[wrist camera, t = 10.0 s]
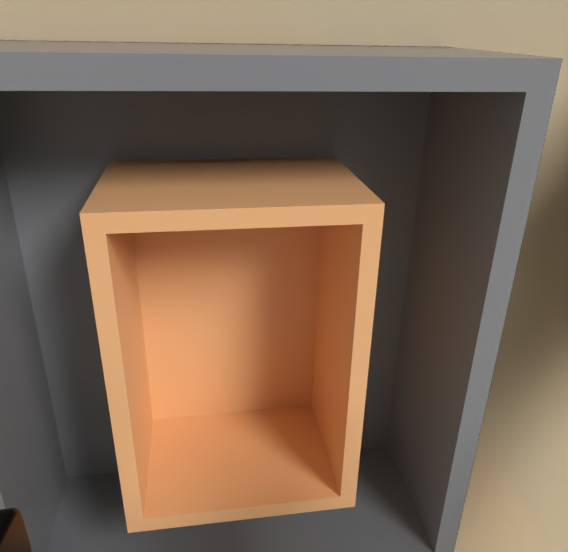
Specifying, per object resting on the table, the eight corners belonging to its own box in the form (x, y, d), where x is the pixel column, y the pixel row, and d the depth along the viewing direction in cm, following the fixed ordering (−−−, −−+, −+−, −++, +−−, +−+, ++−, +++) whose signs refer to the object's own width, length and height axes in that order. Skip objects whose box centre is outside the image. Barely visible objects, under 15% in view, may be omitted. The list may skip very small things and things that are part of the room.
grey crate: (447, 46, 17) (562, 58, 12) (393, 444, 24) (451, 565, 19) (-38, 39, 15) (-163, 49, 10) (55, 477, 22) (12, 623, 17)
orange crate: (335, 156, 17) (384, 203, 13) (320, 406, 22) (355, 506, 17) (110, 161, 16) (79, 213, 12) (141, 422, 21) (127, 532, 16)
